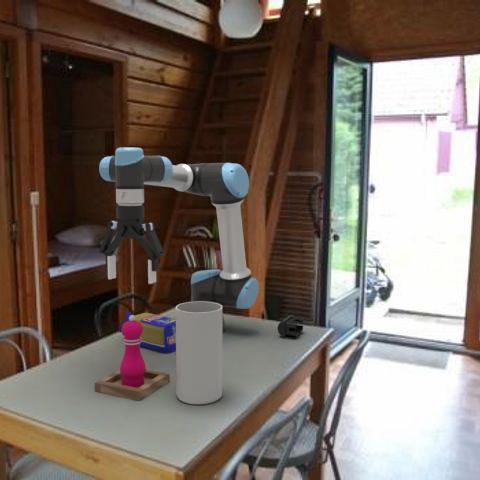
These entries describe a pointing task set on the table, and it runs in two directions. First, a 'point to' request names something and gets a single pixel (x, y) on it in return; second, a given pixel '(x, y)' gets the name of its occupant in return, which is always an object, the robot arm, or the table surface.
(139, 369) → the pepper mill
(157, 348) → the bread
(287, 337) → the end cap
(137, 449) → the table surface
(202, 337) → the cylinder vase
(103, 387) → the walnut holder
